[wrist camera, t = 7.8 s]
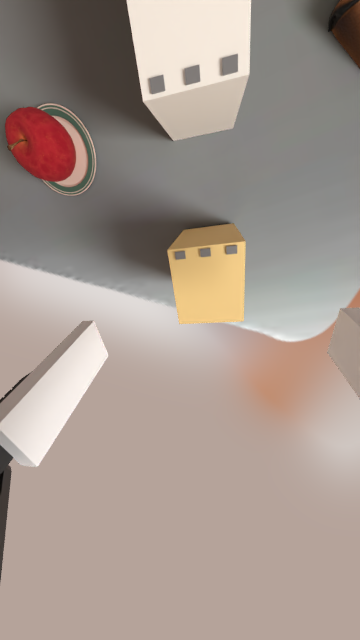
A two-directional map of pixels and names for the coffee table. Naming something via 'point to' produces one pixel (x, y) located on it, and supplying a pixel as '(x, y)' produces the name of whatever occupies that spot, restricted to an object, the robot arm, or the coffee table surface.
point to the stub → (208, 274)
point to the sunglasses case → (347, 27)
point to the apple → (52, 147)
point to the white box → (192, 61)
